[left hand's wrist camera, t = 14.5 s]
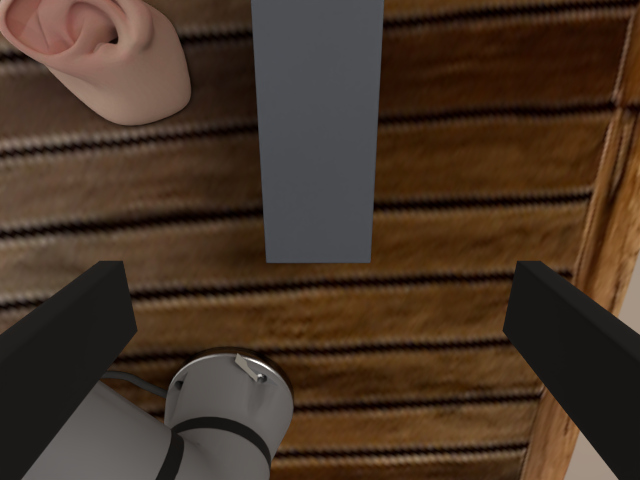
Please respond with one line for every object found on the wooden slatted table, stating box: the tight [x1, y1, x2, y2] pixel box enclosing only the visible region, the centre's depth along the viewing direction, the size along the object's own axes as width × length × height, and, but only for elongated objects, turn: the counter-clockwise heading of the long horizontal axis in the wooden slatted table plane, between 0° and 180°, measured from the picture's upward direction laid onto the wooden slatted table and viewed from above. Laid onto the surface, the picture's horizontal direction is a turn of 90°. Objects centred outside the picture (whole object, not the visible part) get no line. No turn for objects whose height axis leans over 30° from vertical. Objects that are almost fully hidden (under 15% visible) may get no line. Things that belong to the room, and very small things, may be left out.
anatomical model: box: [0, 0, 191, 125], centre depth 31 cm, size 13×4×12 cm
